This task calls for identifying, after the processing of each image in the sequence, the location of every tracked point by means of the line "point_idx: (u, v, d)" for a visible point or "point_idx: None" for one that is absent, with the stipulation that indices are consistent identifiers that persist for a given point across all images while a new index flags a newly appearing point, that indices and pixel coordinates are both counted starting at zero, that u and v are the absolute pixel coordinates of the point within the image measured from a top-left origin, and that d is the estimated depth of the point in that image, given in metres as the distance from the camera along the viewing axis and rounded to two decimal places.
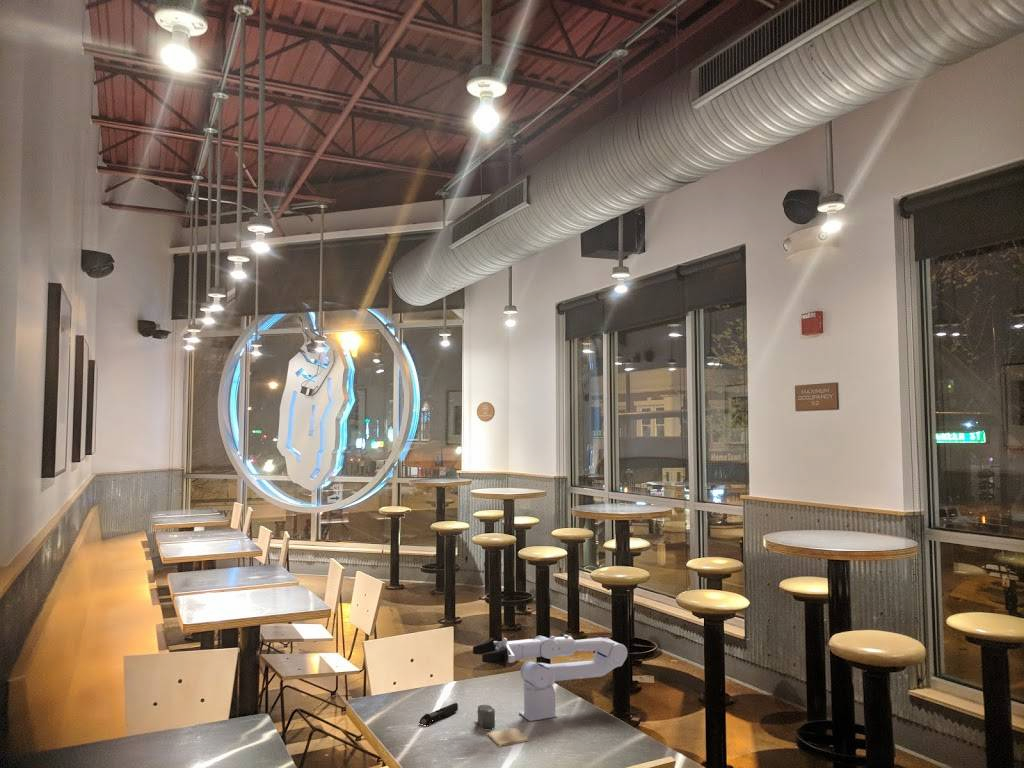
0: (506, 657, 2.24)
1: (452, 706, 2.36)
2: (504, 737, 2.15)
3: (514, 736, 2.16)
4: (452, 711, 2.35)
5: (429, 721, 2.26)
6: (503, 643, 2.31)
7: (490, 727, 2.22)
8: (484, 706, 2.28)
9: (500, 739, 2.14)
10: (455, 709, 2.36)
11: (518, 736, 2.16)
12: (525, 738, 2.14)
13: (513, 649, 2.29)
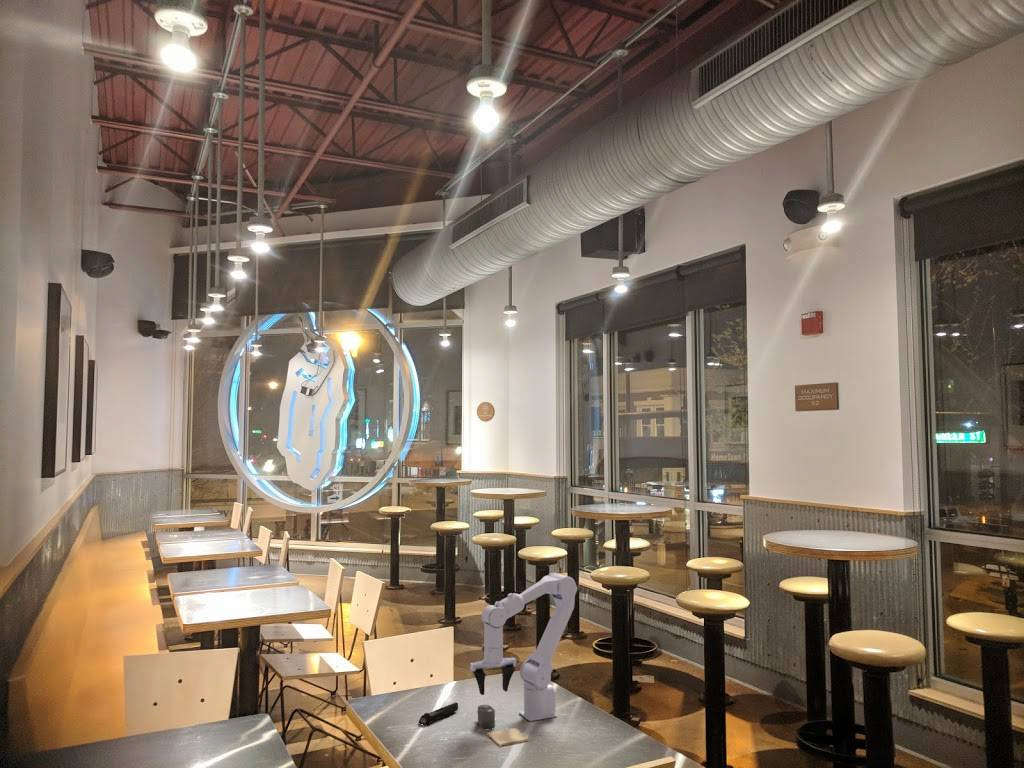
0: None
1: (452, 706, 2.36)
2: (504, 737, 2.15)
3: (514, 736, 2.16)
4: (452, 711, 2.35)
5: (428, 720, 2.26)
6: None
7: (490, 727, 2.22)
8: (484, 706, 2.28)
9: (500, 739, 2.14)
10: (455, 709, 2.36)
11: (518, 736, 2.16)
12: (525, 738, 2.14)
13: (502, 656, 2.28)
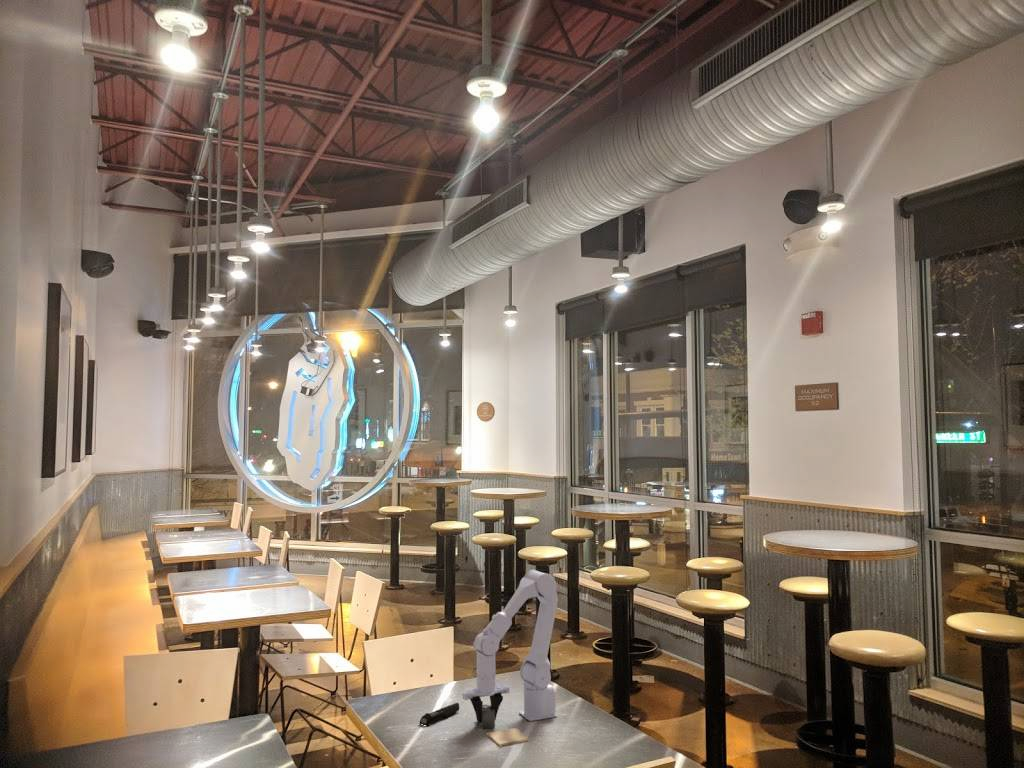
0: None
1: (453, 706, 2.36)
2: (504, 737, 2.15)
3: (514, 736, 2.16)
4: (453, 711, 2.35)
5: (429, 721, 2.26)
6: None
7: (490, 727, 2.22)
8: (484, 706, 2.28)
9: (500, 739, 2.14)
10: (456, 709, 2.36)
11: (518, 736, 2.16)
12: (525, 738, 2.14)
13: (495, 684, 2.26)
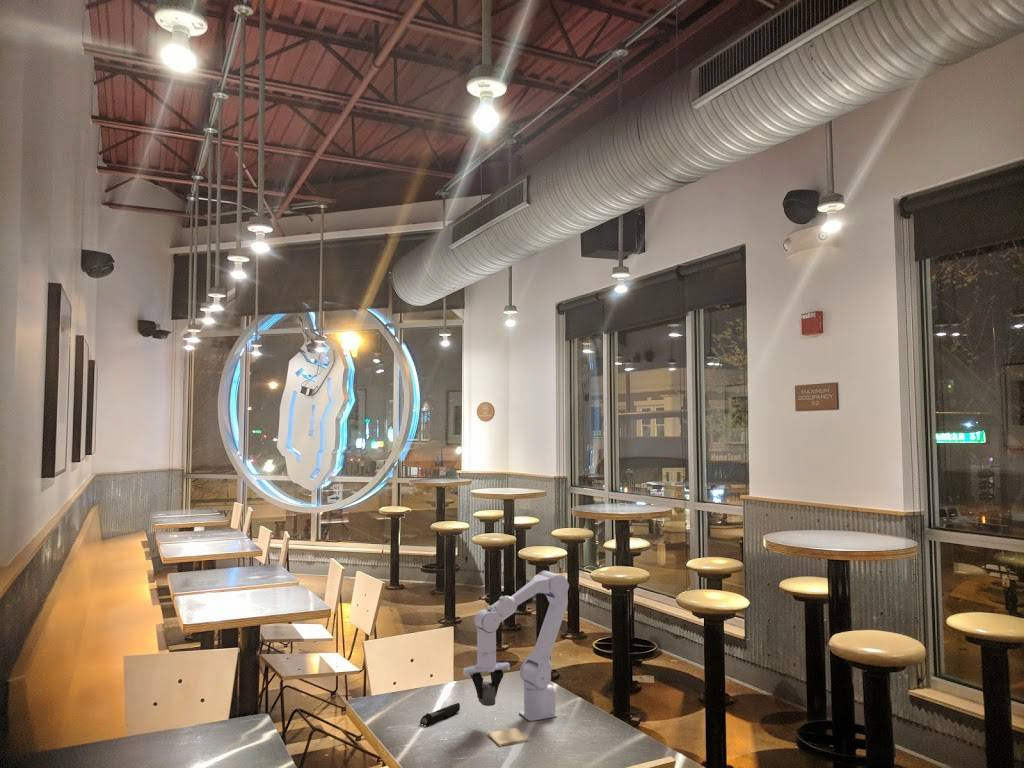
0: None
1: (454, 706, 2.36)
2: (504, 737, 2.15)
3: (514, 736, 2.16)
4: (454, 711, 2.35)
5: (430, 721, 2.26)
6: None
7: (491, 703, 2.23)
8: (485, 683, 2.28)
9: (500, 739, 2.14)
10: (457, 709, 2.36)
11: (518, 736, 2.16)
12: (525, 738, 2.14)
13: None
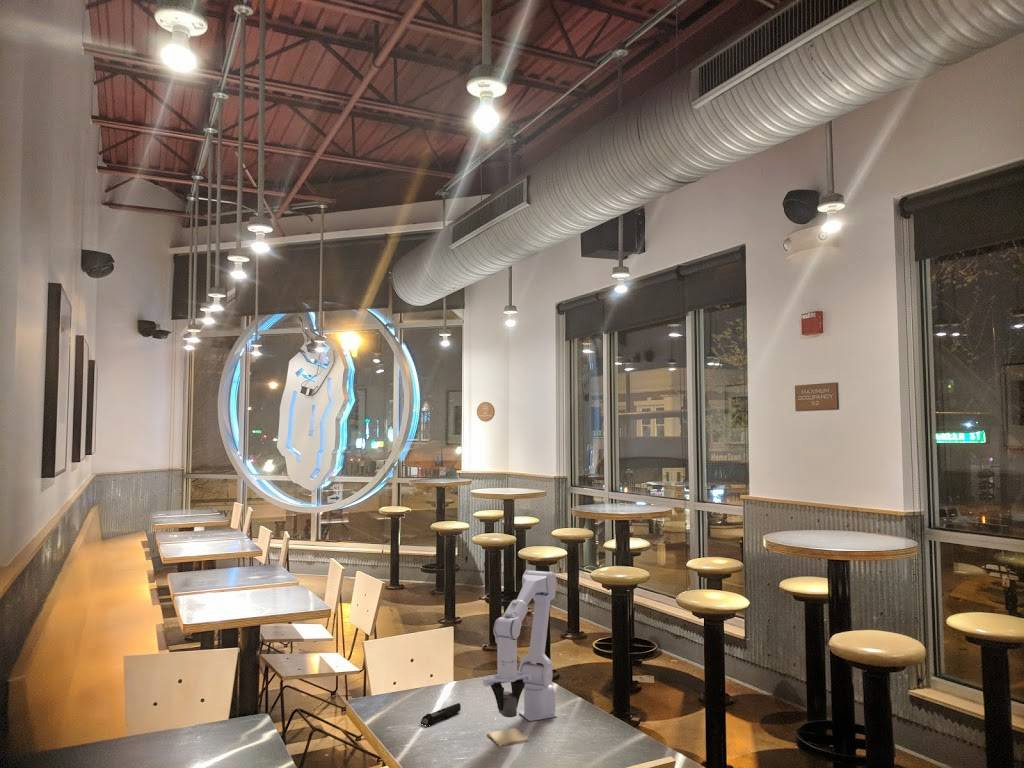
0: None
1: (455, 706, 2.36)
2: (504, 737, 2.15)
3: (514, 736, 2.16)
4: (454, 711, 2.34)
5: (430, 721, 2.26)
6: None
7: (512, 714, 2.13)
8: (505, 693, 2.19)
9: (500, 739, 2.14)
10: (458, 709, 2.36)
11: (518, 736, 2.16)
12: (525, 738, 2.14)
13: None
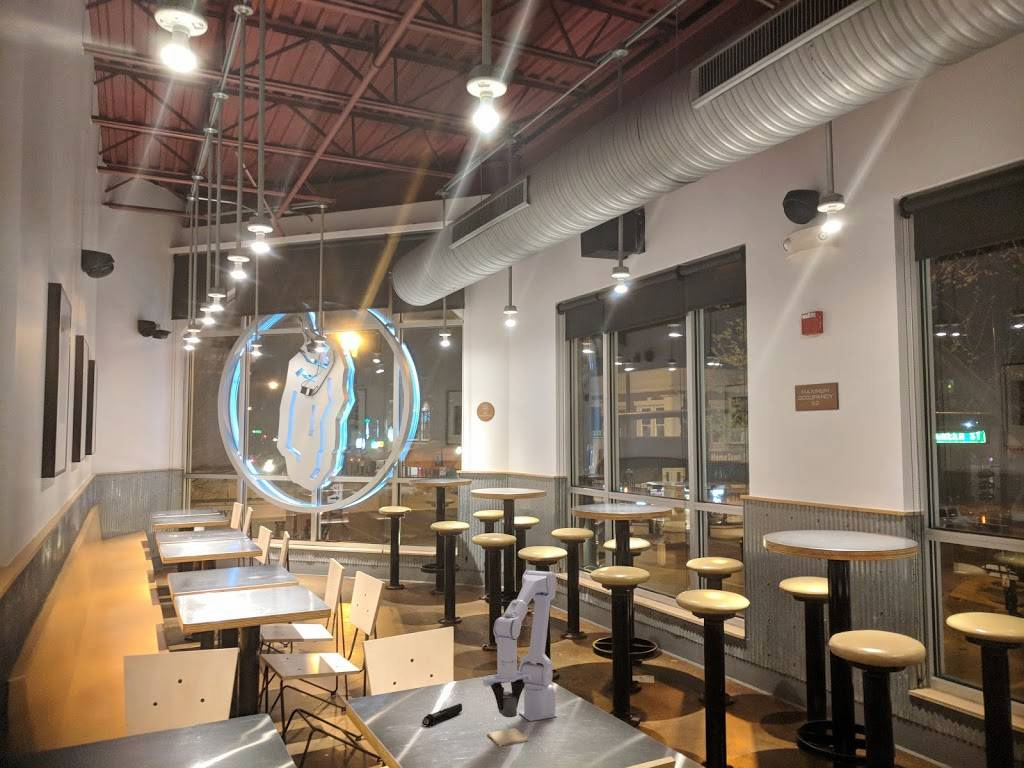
0: None
1: (456, 707, 2.35)
2: (504, 737, 2.15)
3: (514, 736, 2.16)
4: (456, 712, 2.34)
5: (431, 721, 2.26)
6: None
7: (512, 714, 2.13)
8: (505, 693, 2.19)
9: (500, 739, 2.14)
10: (459, 710, 2.35)
11: (518, 736, 2.16)
12: (525, 738, 2.14)
13: None
